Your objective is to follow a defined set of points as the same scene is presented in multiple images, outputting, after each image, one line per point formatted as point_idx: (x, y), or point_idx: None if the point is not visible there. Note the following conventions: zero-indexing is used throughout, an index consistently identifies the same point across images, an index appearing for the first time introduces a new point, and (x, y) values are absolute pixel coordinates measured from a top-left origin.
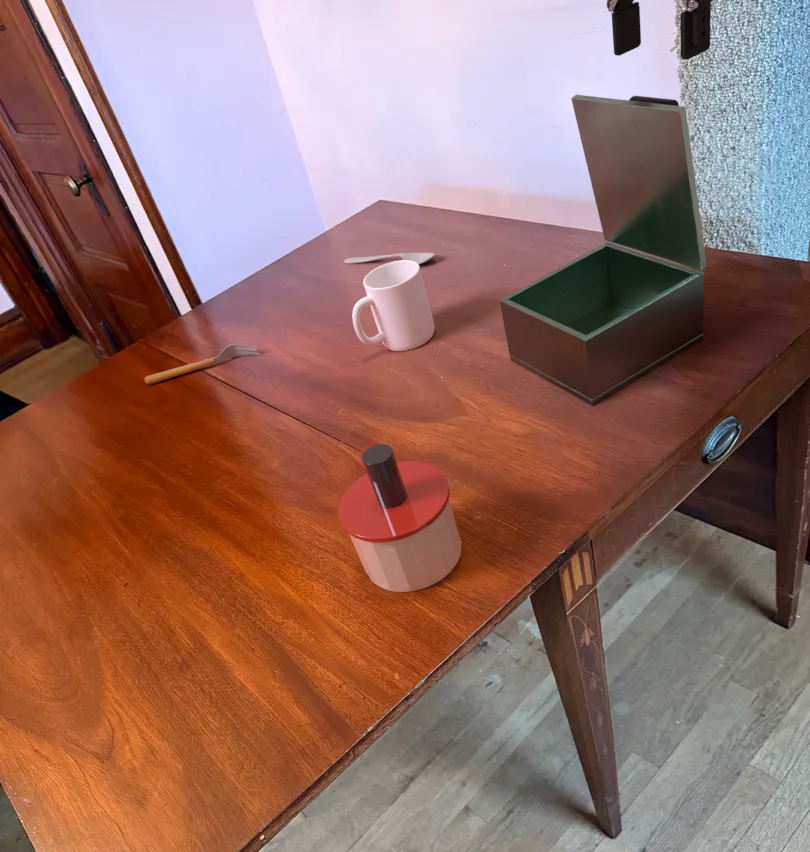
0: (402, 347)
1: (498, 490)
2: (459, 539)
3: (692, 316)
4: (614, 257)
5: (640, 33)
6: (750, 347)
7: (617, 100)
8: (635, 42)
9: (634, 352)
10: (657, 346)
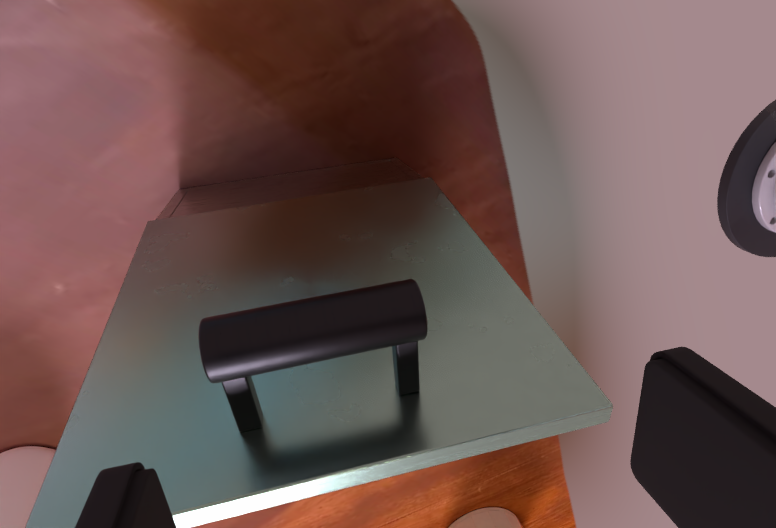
0: None
1: (462, 466)
2: (508, 517)
3: None
4: None
5: (136, 518)
6: (461, 125)
7: (302, 488)
8: (157, 516)
9: None
10: None
